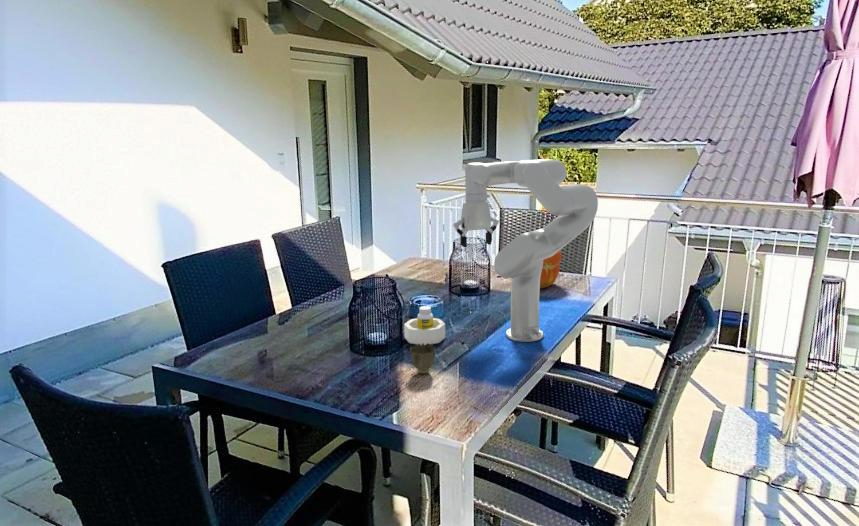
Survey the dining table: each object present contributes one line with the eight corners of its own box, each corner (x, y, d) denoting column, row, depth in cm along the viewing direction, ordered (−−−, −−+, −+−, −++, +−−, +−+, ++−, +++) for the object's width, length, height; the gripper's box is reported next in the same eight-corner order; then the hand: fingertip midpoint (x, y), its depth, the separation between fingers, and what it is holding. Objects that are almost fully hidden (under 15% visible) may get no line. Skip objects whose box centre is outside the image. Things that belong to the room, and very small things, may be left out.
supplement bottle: (421, 338, 200) (420, 311, 197) (415, 333, 204) (414, 306, 202) (436, 336, 202) (435, 308, 199) (429, 331, 207) (429, 304, 204)
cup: (407, 370, 177) (406, 345, 175) (429, 365, 180) (429, 341, 178) (416, 379, 171) (415, 354, 169) (439, 375, 173) (439, 349, 172)
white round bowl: (449, 341, 199) (449, 327, 198) (412, 346, 195) (412, 332, 194) (436, 328, 211) (435, 315, 210) (401, 334, 207) (400, 320, 206)
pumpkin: (502, 290, 256) (502, 245, 252) (515, 277, 277) (515, 235, 272) (555, 294, 248) (556, 248, 243) (564, 281, 268) (566, 237, 263)
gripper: (493, 195, 216) (493, 241, 220) (449, 198, 210) (450, 245, 214) (502, 197, 209) (502, 245, 213) (457, 201, 203) (458, 249, 207)
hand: (476, 245), depth 213 cm, fingers open, 9 cm apart
